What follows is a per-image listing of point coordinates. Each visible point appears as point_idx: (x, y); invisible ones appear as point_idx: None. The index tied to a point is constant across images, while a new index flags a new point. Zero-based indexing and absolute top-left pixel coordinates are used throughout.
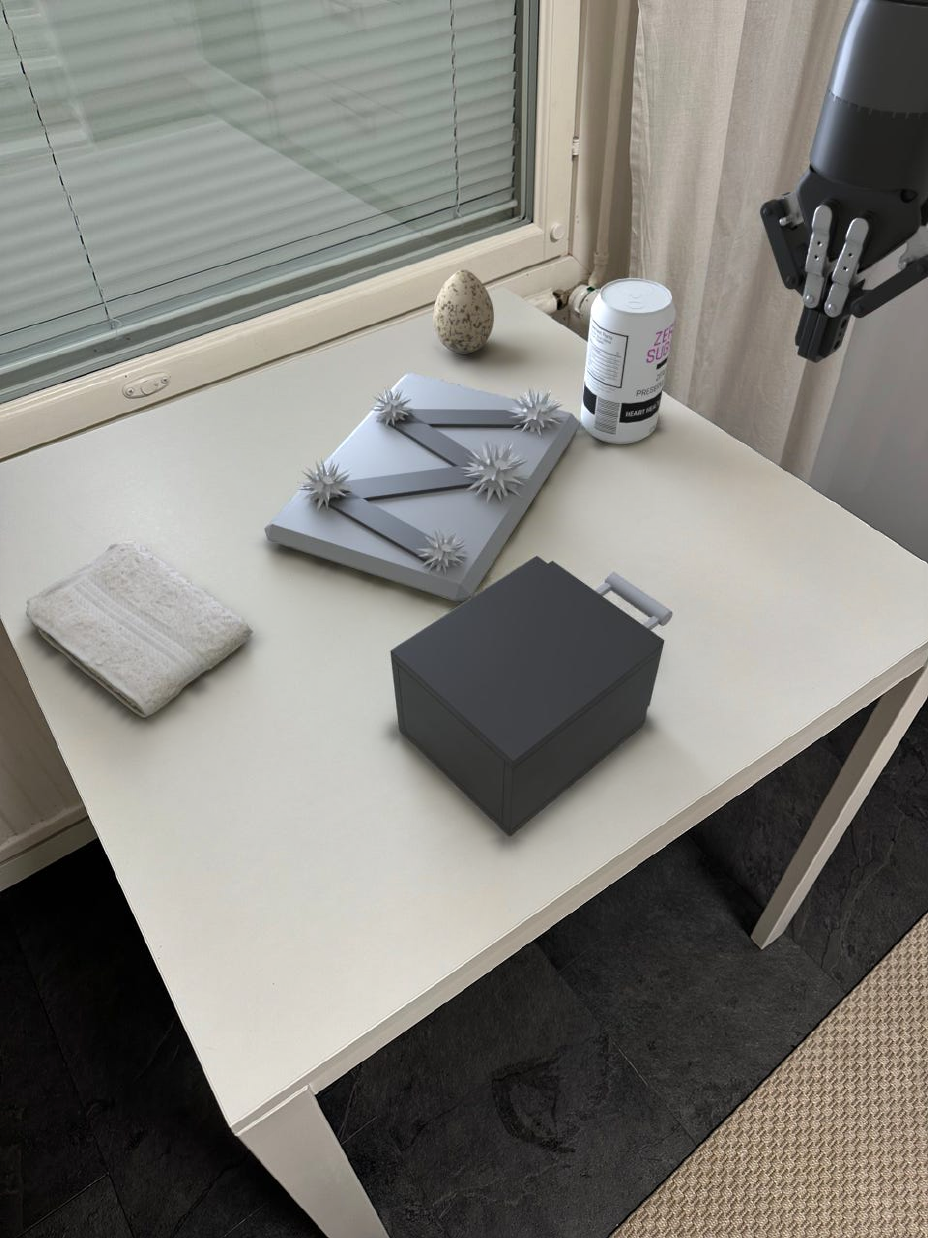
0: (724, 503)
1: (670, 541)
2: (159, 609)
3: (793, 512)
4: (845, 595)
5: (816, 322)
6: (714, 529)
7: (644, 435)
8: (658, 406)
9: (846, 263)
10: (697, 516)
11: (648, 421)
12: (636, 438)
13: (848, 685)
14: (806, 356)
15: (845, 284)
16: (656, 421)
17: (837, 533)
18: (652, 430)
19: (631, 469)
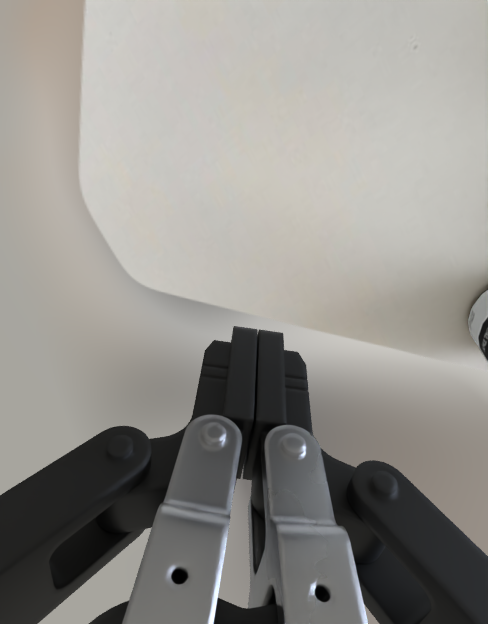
0: (343, 260)
1: (373, 161)
2: None
3: (271, 289)
4: (165, 206)
5: (257, 398)
6: (334, 214)
7: (476, 304)
8: (480, 340)
9: (173, 598)
10: (361, 222)
11: (482, 317)
12: (484, 294)
13: (85, 70)
14: (258, 332)
15: (167, 511)
16: (471, 329)
17: (219, 286)
18: (470, 316)
19: (469, 250)
